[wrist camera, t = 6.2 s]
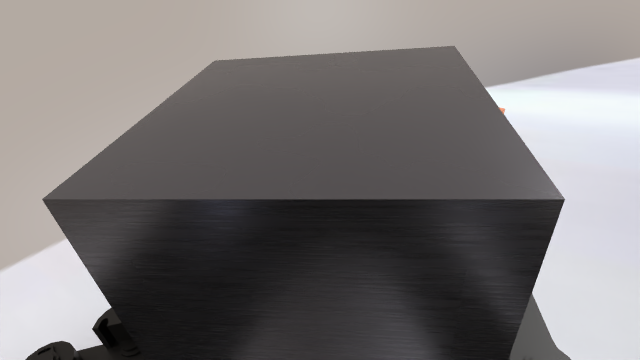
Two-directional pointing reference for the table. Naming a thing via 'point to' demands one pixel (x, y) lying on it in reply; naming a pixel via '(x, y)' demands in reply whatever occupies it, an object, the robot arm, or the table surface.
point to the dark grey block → (317, 213)
